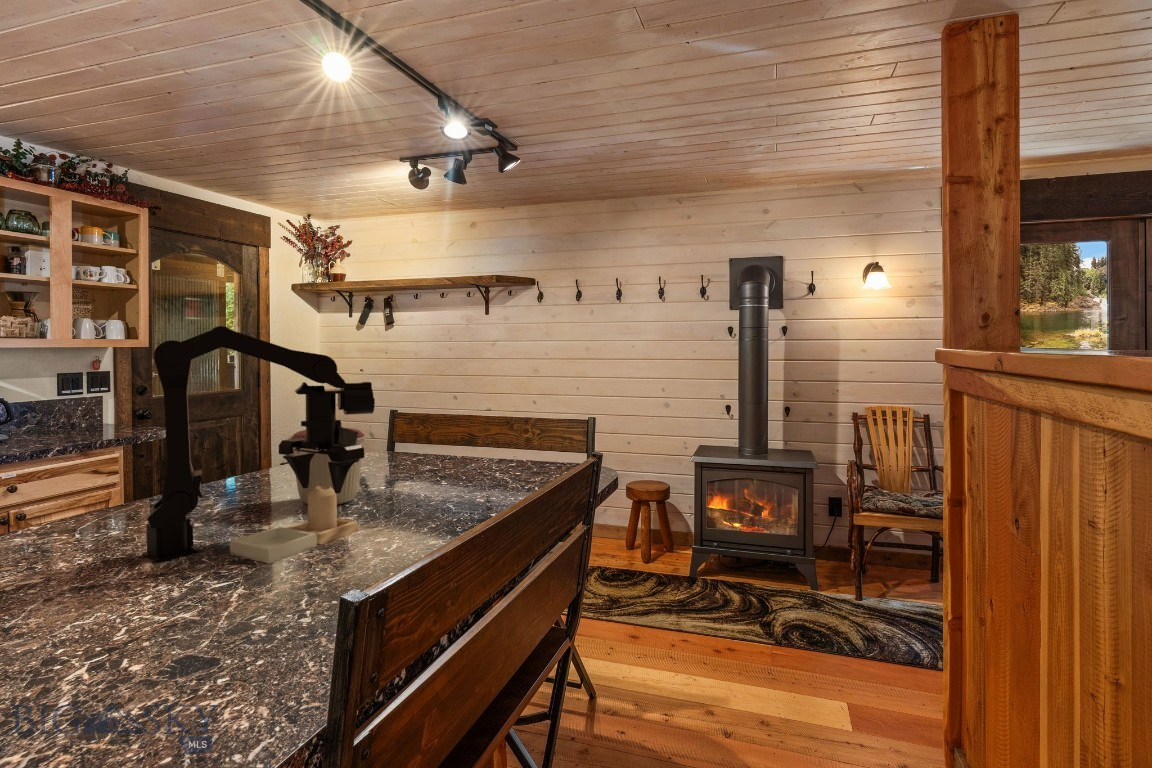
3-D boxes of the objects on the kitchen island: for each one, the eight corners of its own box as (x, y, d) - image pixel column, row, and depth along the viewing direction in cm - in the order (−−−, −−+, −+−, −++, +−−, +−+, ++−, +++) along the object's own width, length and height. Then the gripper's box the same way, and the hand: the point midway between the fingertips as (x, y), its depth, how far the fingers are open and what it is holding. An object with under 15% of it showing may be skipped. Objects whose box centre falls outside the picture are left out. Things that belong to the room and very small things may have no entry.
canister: (272, 506, 149) (270, 420, 148) (323, 490, 166) (322, 412, 165) (335, 513, 144) (334, 423, 143) (381, 496, 161) (380, 415, 160)
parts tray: (268, 563, 111) (268, 549, 111) (230, 554, 116) (229, 540, 116) (316, 546, 121) (316, 533, 121) (279, 538, 125) (278, 526, 125)
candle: (317, 540, 125) (316, 491, 124) (302, 534, 128) (302, 487, 127) (342, 533, 129) (341, 486, 128) (327, 528, 132) (327, 482, 132)
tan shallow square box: (320, 544, 122) (320, 534, 122) (285, 537, 126) (285, 527, 126) (358, 531, 131) (358, 521, 131) (324, 524, 135) (324, 515, 135)
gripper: (383, 414, 130) (383, 488, 131) (319, 409, 138) (320, 478, 139) (342, 420, 120) (343, 499, 121) (276, 414, 128) (277, 488, 129)
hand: (321, 490), depth 128 cm, fingers open, 9 cm apart
